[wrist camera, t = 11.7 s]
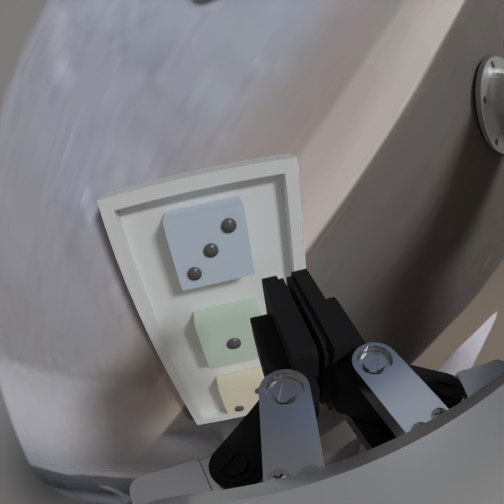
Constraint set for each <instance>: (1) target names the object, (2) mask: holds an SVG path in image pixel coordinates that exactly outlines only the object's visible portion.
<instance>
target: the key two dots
mask: <svg viewBox="0 0 504 504" xmlns="http://www.w3.org/2000/svg"><path fill="white" fill-rule="evenodd" d="M216 378H217V384H218V389H219V393H220V395H221V398H222V400H223V403H224V405H225V408H226V410H227V412H228V415H229V417H231V416H236V415H240V414H245V413H249V411H250V410H251V409H252V408H253V406H254V405H255V404H256V403H257V401H258V400H259V385H260V383H261V382H262V380H263V379H264V375H263V371H262V367H261V366H260V367H256V368H252V369H248V370H244V371H240V372H235V373H231V374H226V375H222V376H217V377H216Z"/></svg>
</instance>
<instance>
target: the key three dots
mask: <svg viewBox="0 0 504 504" xmlns="http://www.w3.org/2000/svg"><path fill="white" fill-rule="evenodd" d="M162 223H163V226H164V230H165V234H166V237H167V241H168V244H169V248H170V251H171V255H172V258H173V261H174V265H175V268H176V271H177V274H178V278H179V281H180V284H181V287H182V290H188V289H193V288H197V287H202V286H206V285H211V284H215V283H219V282H224V281H228V280H233V279H237V278H241V277H246V276H250V275H254V274H255V272H254V265H253V259H252V253H251V247H250V240H249V234H248V228H247V221H246V215H245V209H244V204H243V202H242V201H241V199H240V197H239V196H237V197H232V198H227V199H222V200H218V201H213V202H208V203H204V204H199V205H195V206H190V207H186V208H181V209H177V210H173V211H168V212H164V217H163V222H162Z"/></svg>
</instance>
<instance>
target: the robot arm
mask: <svg viewBox="0 0 504 504" xmlns="http://www.w3.org/2000/svg"><path fill="white" fill-rule="evenodd" d="M475 102H476V110H477V116H478V121H479V124H480V127H481V131H482V133H483V135H484V138H485V140H486V141H487V143H488V145H489V146H490V147H491V148H492V149H493V150H495V151H496V152H499V153H502V154H504V59H503V58H501V57H498V56H488V57H486V58H485V59H484V60H483V61H482V62H481V64H480V66H479V68H478V72H477V76H476V82H475ZM262 286H263V293H264V299H265V305H266V312H267V314H265V315H261V316H256V317H252V318H250V322H251V327H252V332H253V336H254V341H255V345H256V349H257V353H258V356H259V360H260V364H261V367H262V371H263V375H264V379H263V380H262V382H261V383H260V385H259V400H258V401H257V403H256V404H255V405H254V406H253V408H252V409H251V410H250V411H249V413H248V414H247V415H246V416H245V417H244V419H243V420H242V421H241V422H240V423H239V425H238V426H237V427H236V428H235V429H234V431H233V432H232V433H231V434H230V435H229V436H228V438H227V439H226V440H225V441H224V442H223V443H222V444H221V446H220V447H219V448H218V449H217V450H216V451H215V452H214V454H213V455H212V457H210V458H207V459H204V460H201V461H199V460H198V459H197V460H194V461H190V462H187V463H184V464H181V465H177V466H174V467H171V468H167V469H163V470H160V471H156V472H152V473H148V474H144V475H141V476H139V477H137V478H136V479H135V480H134V481H133V482H132V484H131V487H130V496H131V500H132V504H504V361H503V360H493V361H490V362H487V363H484V364H481V365H478V366H475V367H472V368H469V369H466V370H463V371H460V372H457V374H456V375H455V376H453V375H450V374H448V373H443V372H439V371H434V370H430V369H426V368H422V367H417V366H413V365H409V364H406V363H405V361H404V360H403V359H402V358H401V357H400V356H399V355H398V354H397V353H396V352H395V351H394V350H393V349H392V348H390V347H389V346H387V345H385V344H382V343H376V342H374V343H367V344H366V343H365V342H364V340H363V338H362V337H361V335H360V334H359V332H358V331H357V329H356V328H355V326H354V325H353V323H352V322H351V320H350V319H349V317H348V316H347V314H346V313H345V311H344V310H343V308H342V307H341V305H340V304H339V302H338V301H337V299H336V298H334V297H331V298H328V299H325V297H324V296H323V294H322V292H321V291H320V289H319V288H318V286H317V285H316V283H315V281H314V280H313V278H312V277H311V275H310V274H309V272H308V271H307V269H302V270H298V271H293V272H291V276H289V277H287V285H286V283H285V281H284V279H283V278H281V279H278V278H277V276H272V277H268V278H263V279H262ZM319 401H320V403H321V404H324V403H326V404H327V407H328V409H329V410H331V409H334V408H335V410H336V412H339V413H342V414H344V417H345V419H346V421H347V422H348V424H349V425H350V427H351V428H352V430H353V431H354V433H355V434H356V436H357V437H358V439H359V440H360V442H361V443H362V445H363V446H364V447H365V449H366V450H367V451H365V452H363V453H360V454H358V455H355V456H352V457H350V458H347V459H344V460H341V461H338V462H336V463H333V464H330V465H327V466H325V465H324V459H323V453H322V448H321V442H320V436H319V431H318V426H317V419H318V414H319Z"/></svg>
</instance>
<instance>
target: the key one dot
mask: <svg viewBox="0 0 504 504" xmlns="http://www.w3.org/2000/svg"><path fill="white" fill-rule="evenodd" d="M256 316H261V311H260V308H259V306H258V303H257V300H256V298H253V299H248V300H244V301H240V302H236V303H231V304H227V305H222V306H218V307H214V308H209V309H204V310H200V311H195V312H194V324H195V329H196V332H197V335H198V338H199V340H200V343H201V346H202V349H203V351H204V354H205V357H206V359H207V362H208V365H209V367H210V369H215V368H220V367H224V366H229V365H233V364H238V363H242V362H246V361H250V360H254V359H258V358H259V356H258V353H257V349H256V345H255V341H254V336H253V332H252V327H251V322H250V318H252V317H256Z"/></svg>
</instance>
